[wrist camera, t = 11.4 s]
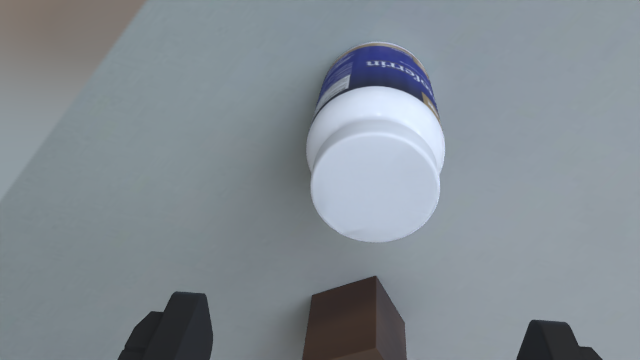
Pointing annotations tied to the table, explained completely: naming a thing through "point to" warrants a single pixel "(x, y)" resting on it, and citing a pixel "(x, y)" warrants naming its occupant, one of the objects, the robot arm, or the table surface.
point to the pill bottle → (376, 145)
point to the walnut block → (354, 324)
